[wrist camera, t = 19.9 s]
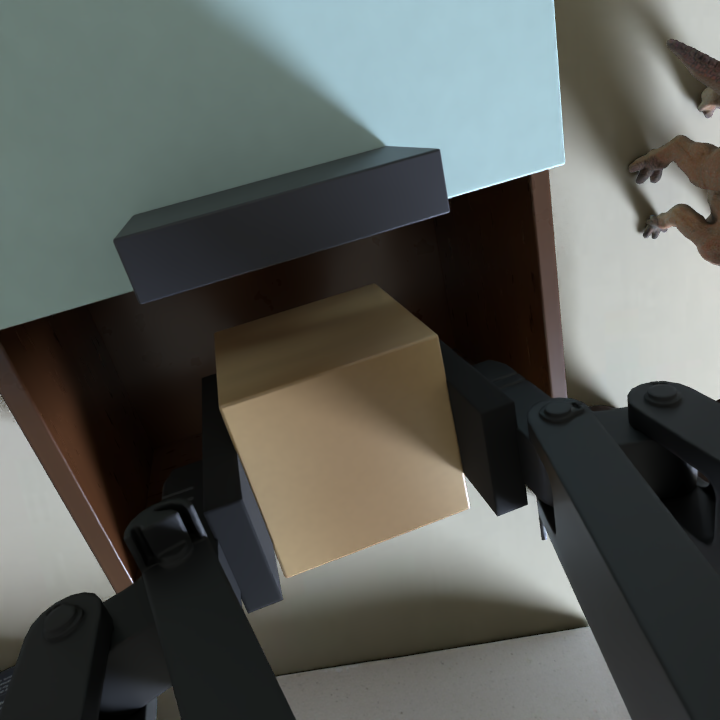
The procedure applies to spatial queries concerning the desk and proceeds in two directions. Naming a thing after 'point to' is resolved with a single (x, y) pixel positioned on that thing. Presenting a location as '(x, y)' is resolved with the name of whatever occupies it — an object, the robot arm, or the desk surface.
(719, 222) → the dinosaur figurine
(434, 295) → the case
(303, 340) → the block
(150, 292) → the light blue slab
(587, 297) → the desk surface
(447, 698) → the box
